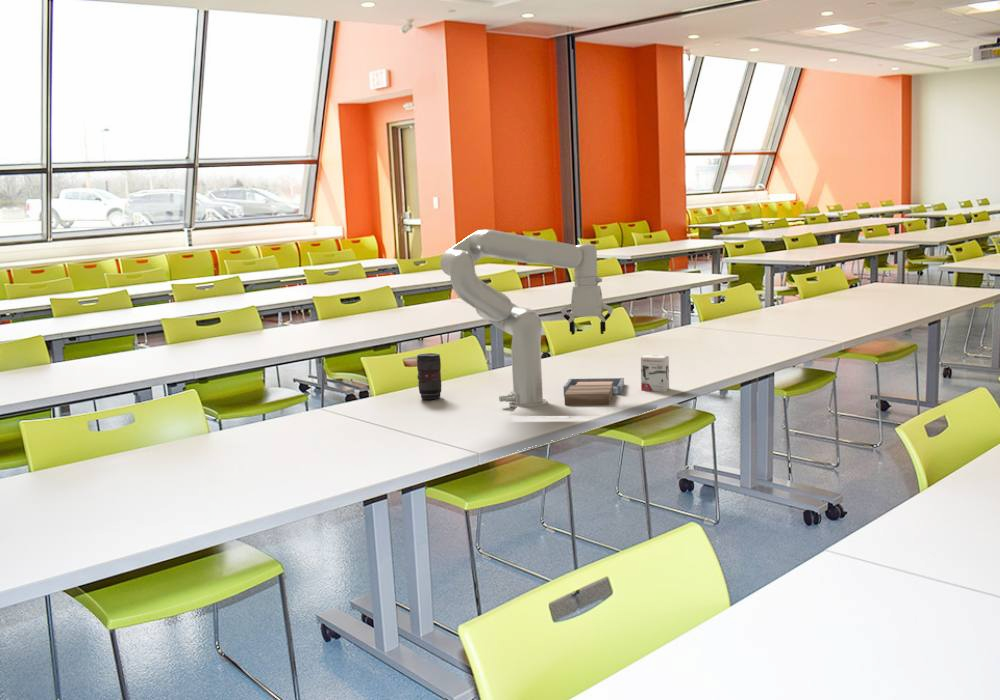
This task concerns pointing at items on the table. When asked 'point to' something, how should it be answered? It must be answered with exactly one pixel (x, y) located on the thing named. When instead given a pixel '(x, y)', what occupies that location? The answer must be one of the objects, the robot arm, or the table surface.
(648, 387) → the ink box
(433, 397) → the camera lens
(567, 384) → the tray
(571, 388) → the plate
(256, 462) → the table surface
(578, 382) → the tile
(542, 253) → the robot arm
